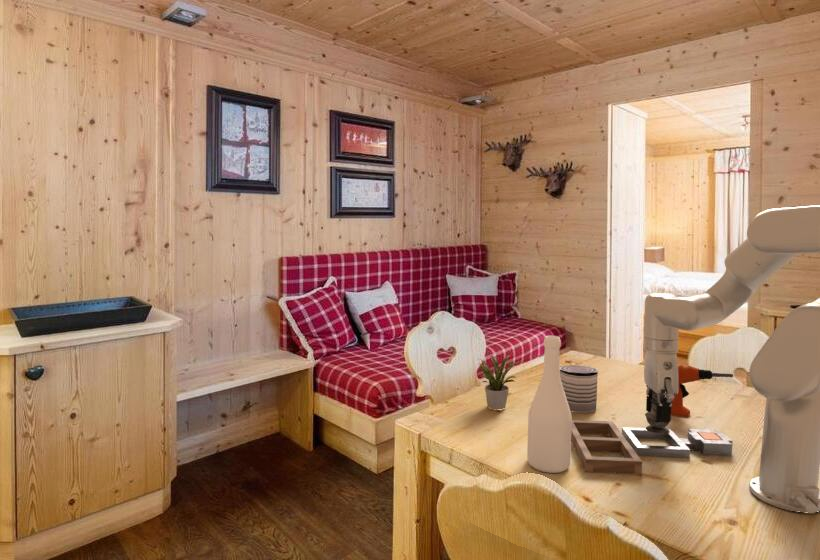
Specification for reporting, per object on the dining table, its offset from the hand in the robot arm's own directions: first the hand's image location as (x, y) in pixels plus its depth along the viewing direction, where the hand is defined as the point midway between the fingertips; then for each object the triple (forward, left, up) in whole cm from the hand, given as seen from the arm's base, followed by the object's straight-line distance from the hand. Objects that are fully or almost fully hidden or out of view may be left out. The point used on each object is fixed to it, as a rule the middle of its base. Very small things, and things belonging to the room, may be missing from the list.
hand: (658, 415), depth 127 cm
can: (+26, +13, -8) cm, 31 cm away
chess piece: (0, 0, -4) cm, 4 cm away
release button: (0, -13, -8) cm, 15 cm away
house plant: (+23, +36, -8) cm, 44 cm away
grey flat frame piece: (0, -5, -8) cm, 10 cm away
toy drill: (+21, -18, -8) cm, 29 cm away
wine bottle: (-12, +28, -8) cm, 32 cm away
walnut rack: (-4, +14, -8) cm, 17 cm away
